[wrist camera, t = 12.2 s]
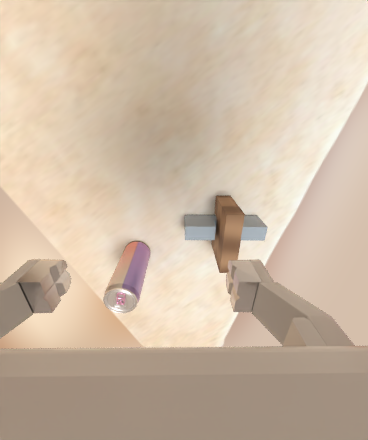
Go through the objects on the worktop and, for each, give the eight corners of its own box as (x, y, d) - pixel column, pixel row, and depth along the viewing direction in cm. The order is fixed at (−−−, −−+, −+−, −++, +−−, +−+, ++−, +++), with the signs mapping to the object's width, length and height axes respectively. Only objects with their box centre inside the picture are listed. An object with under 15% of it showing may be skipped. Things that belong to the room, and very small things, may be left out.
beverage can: (151, 242, 45) (139, 290, 31) (149, 262, 47) (136, 315, 34) (126, 238, 44) (102, 286, 30) (124, 259, 47) (101, 312, 33)
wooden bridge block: (216, 195, 40) (226, 214, 31) (230, 195, 40) (244, 214, 31) (211, 244, 45) (219, 272, 36) (224, 244, 45) (235, 272, 36)
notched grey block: (184, 214, 42) (185, 226, 37) (256, 215, 42) (267, 227, 37) (184, 227, 43) (185, 239, 38) (254, 227, 43) (264, 240, 38)
